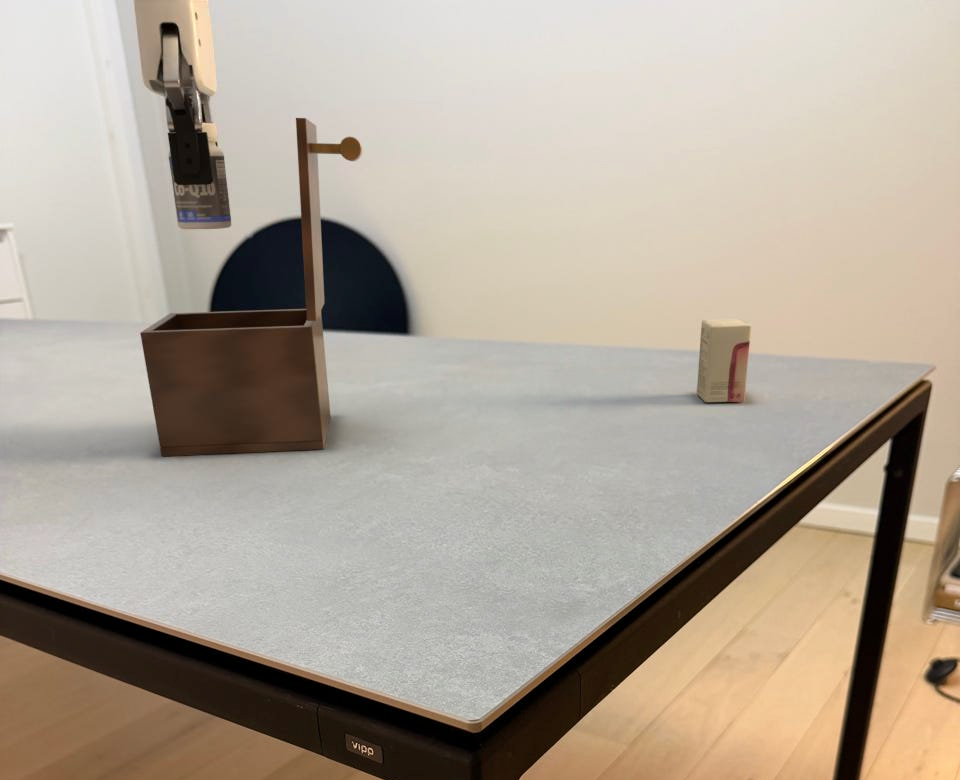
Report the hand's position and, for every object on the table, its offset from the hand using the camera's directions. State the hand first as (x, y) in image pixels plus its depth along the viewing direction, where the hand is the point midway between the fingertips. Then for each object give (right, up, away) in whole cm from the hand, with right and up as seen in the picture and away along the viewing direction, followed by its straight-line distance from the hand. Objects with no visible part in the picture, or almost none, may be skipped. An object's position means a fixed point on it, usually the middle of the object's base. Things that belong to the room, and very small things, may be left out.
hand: (199, 182), depth 85 cm
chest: (+3, -21, +7) cm, 22 cm away
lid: (+10, -4, 0) cm, 10 cm away
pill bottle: (0, -4, +2) cm, 4 cm away
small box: (+51, -15, +18) cm, 56 cm away
